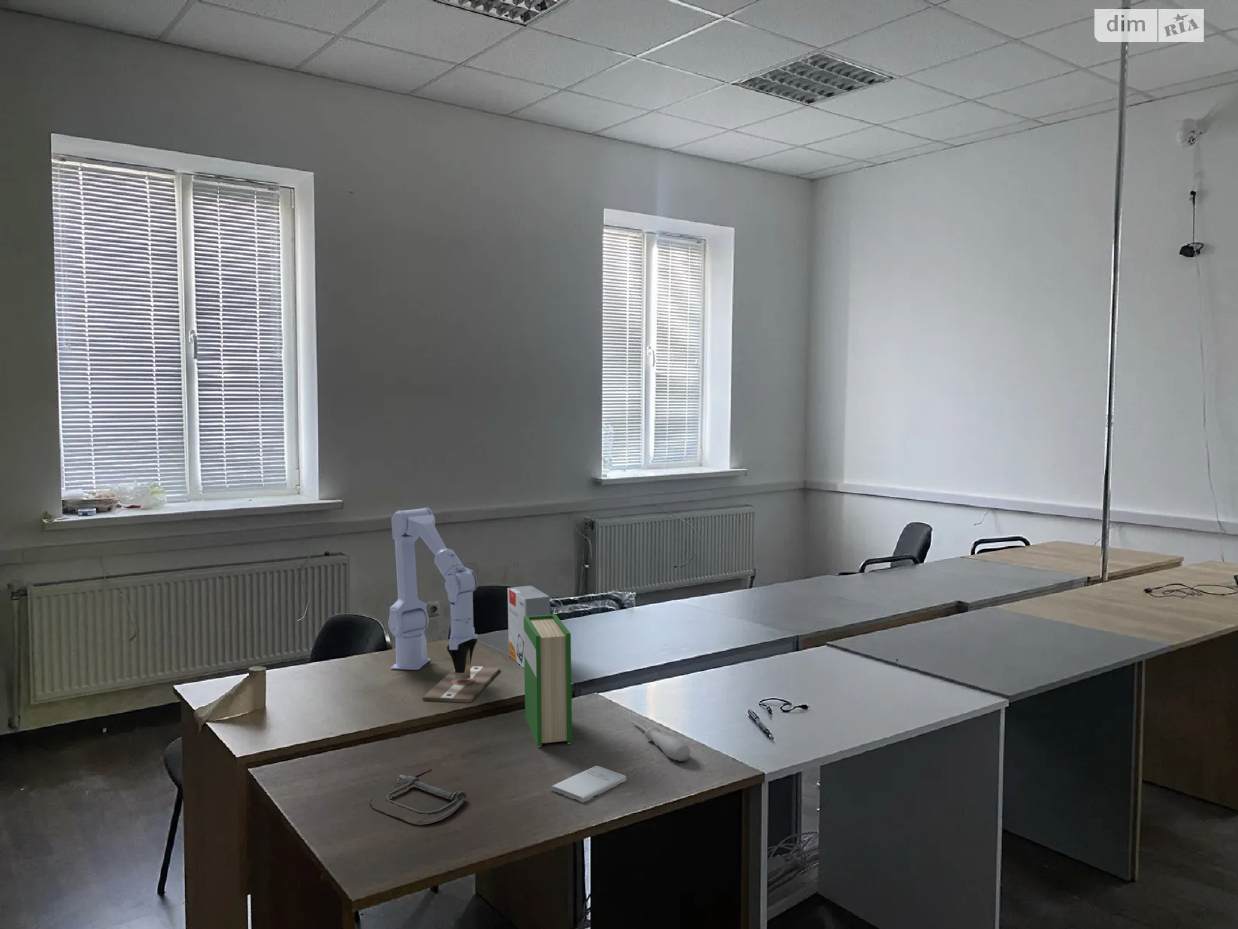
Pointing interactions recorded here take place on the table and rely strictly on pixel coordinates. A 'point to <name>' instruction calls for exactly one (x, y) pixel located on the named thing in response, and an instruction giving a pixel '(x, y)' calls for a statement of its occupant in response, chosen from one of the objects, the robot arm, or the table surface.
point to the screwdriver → (667, 743)
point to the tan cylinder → (467, 670)
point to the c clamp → (455, 798)
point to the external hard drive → (589, 782)
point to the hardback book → (547, 679)
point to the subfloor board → (461, 685)
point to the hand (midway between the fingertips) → (462, 669)
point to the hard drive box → (521, 605)
